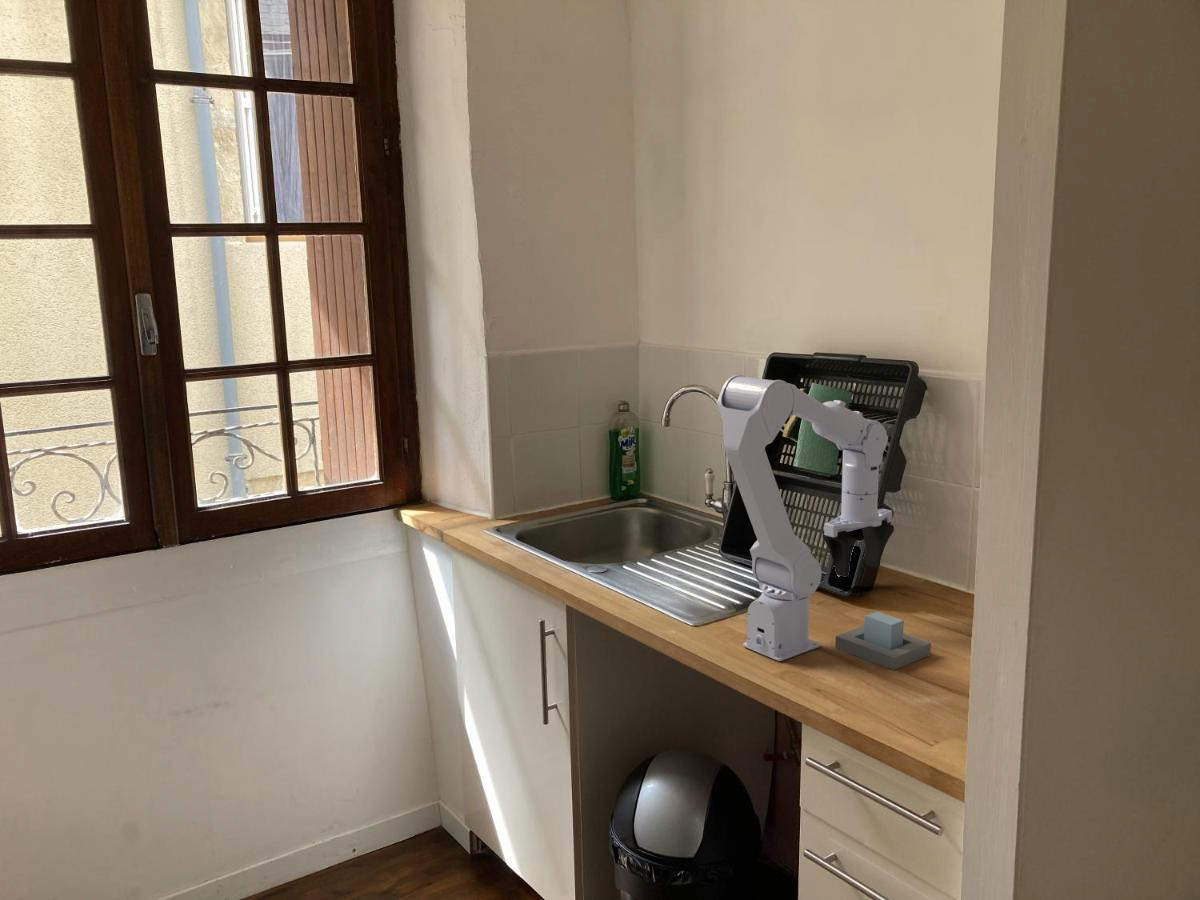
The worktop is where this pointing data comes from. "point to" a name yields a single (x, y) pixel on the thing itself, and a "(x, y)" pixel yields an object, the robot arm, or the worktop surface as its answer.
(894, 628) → the block
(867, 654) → the grey slotted base
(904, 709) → the worktop surface
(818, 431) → the robot arm
